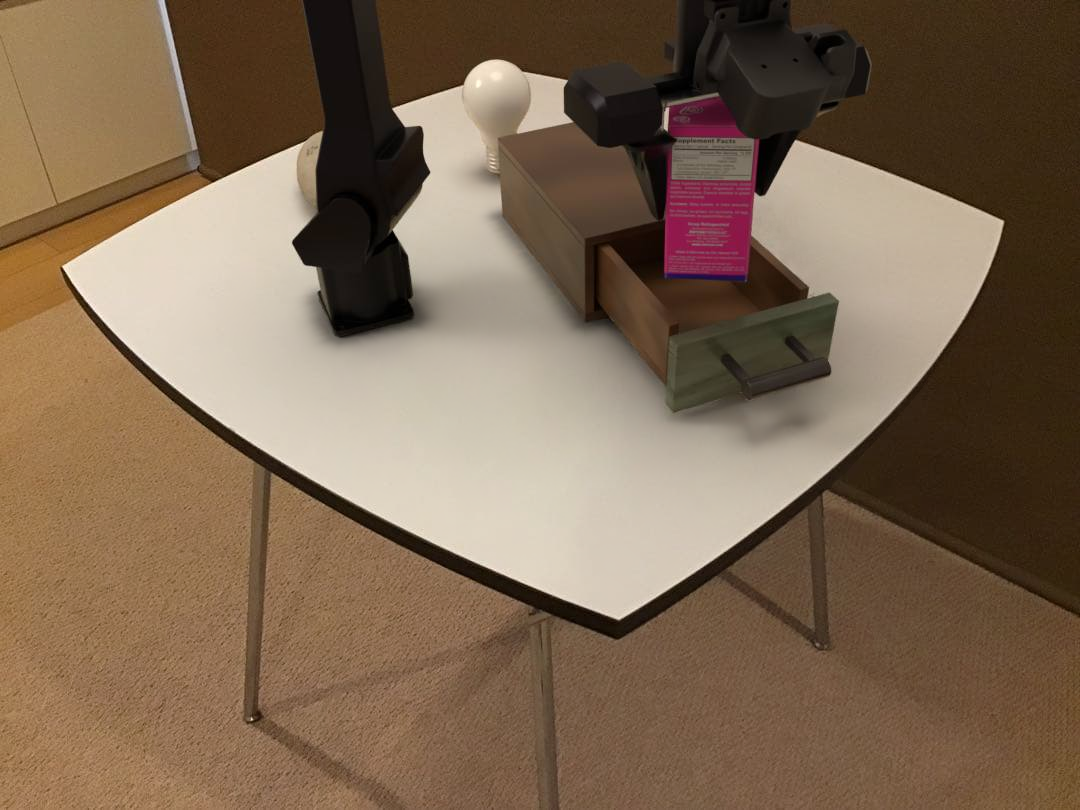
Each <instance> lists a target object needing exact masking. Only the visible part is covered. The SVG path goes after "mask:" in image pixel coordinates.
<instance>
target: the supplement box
mask: <svg viewBox="0 0 1080 810" xmlns="http://www.w3.org/2000/svg"><path fill="white" fill-rule="evenodd" d="M667 132H669V133H670V134H671V135H672V136H673V137H674V138H675V139H676V143H675V144H674V145H673V146H672V148H671V149H670V150H669V151H668V153H667V179H666V220H665V268H664V277H665V278H672V279H696V280H718V281H736V282H746V281H747V278H748V266H749V254H750V242H751V235H752V230H753V229H752V228H753V216H754V204H755V194H756V193H755V182H756V170H757V160H758V148H759V139H758V140H757V139H751V138H748V137H746V136H744V135H743V134H742V133H741V132H740V131H739V129H738V128H737V126H736V122H735V119H734V118H733V116H732V114H731V113H730V111H729V110H728V108H727V107H726V105H725V104H724V102H723V101H722V99H721V97H717V98H712V99H707V100H703V101H698V102H693V103H688V104H683V105H678V106H673V107H668V119H667Z"/></svg>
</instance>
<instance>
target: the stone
mask: <svg viewBox="0 0 1080 810" xmlns="http://www.w3.org/2000/svg"><path fill="white" fill-rule="evenodd" d="M322 133H323V130H320V131H318V132H316V133H314V134H312V135H311V136H310V137H309V138H308V139H307V140H305V141H304V143H303V145H302V146H301V147H300V150H299V152H298V155H297V159H296V180H297V183H298V187H299V189H300V191H301V193H302V195H303V196H304V197H305V199H306V201H308V202H309V203H310V204H311V205H313V206H315V207H316V174H315V170H316V164H317V159H318V154H319V149H320V144H321V138H322Z"/></svg>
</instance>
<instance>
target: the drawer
mask: <svg viewBox="0 0 1080 810" xmlns="http://www.w3.org/2000/svg"><path fill="white" fill-rule="evenodd" d="M664 268H665V228H662V229H658V230H654V231H649V232H645V233H641V234H637V235H633V236H629V237H625V238H621V239H617V240H612V241H608V242H604V243H600V244H596V245H594V298H595V299H596V301H597V302H598V303H599V304H600V306H601V307H602V308H603V309H604V311H605V312H606V313H607V314H608V317H609V318H610V319H611V321H612V322H613V323H614V324H615V325H616V327H617V328H618V329H619V330H620V332H621V333H622V334H623V335H624V337H625V338H626V340H628V342H629V343H630V344H631V346H632V347H633V348H634V349H635V350H636V352H637V353H638V354H639V355H640V357H641V358H642V359H643V360H644V361H645V363H646V364H647V365H648V366H649V368H650V369H651V370H652V371H653V373H654V374H655V375H656V377H657V378H658V379H659V381H661V383H662V384H663V385H664V386H665V387H666V388H665V389H666V390H665V405H666V406H667V408H668V409H669V410H670V411H671V412H672V414H676V413H679V412H683V411H686V410H689V409H692V408H696V407H700V406H703V405H706V404H709V403H713V402H716V401H720V400H723V399H726V398H730V397H733V396H737V395H740V394H742V396H743V397H744V399H745V400H746V401H747V402H750V401H753V400H757V399H760V398H764V397H768V396H770V395H774V394H778V393H780V392H783V391H787V390H791V389H794V388H796V387H800V386H804V385H807V384H811V383H814V382H816V381H817V382H818V381H821V380H824V379H827V378H830V376H831V375H832V366H831V363H830V361H829V359H830V352H831V347H832V343H833V336H834V331H835V326H836V321H837V314H838V309H839V304H840V301H839V299H838V298H836V297H835V296H834V295H833V294H832V293H831V292H826V293H822V294H818V295H815V296H811V297H809V292H810V286H809V285H808V284H807V283H805V282H804V281H803V280H802V279H801V278H800V277H798V276H797V275H796V274H795V273H794V272H793V271H792V270H791V269H789V268H788V267H787V266H786V265H785V264H784V263H783V262H782V261H781V260H780V259H778V258H777V257H776V256H775V255H774V254H773V253H772V252H771V251H770V250H769V249H767V248H766V247H765V246H764V245H763V244H762V243H760V242H759V241H758V240H757V238H755V237H754V236H753V235H752V234H751V242H750V254H749V266H748V278H747V281H746V282H736V281H718V280H696V279H672V278H665V277H664Z"/></svg>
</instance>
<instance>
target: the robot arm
mask: <svg viewBox="0 0 1080 810" xmlns="http://www.w3.org/2000/svg"><path fill="white" fill-rule="evenodd" d="M301 3H302V4H301V5H302V8H303V12H304V13H303V14H304V19H305V25H306V32H307V35H308V41H309V46H310V51H311V58H312V62H313V68H314V73H315V78H316V83H317V89H318V94H319V100H320V105H321V111H322V117H323V129H322V131H323V133H322V138H321V144H320V149H319V154H318V159H317V164H316V170H315V174H316V206H315V207H316V213H315V214H314V216H312V218H311V219H310V220H309V221H307V223H306V225H304V226H303V228H302V229H301V230H300V231H299V232H298V234H297V235H295V237H294V238H293V239H292V241H291V245H292V247H293V248H294V251H295V253H297V255H298V257H299V259H300V261H301V262H302V264H303V265H304V266H305V267H311V268H312V267H314V268H316V269H315V270H316V274H317V279H318V284H319V288H320V290H318V291H317V297H318V298H317V299H318V300H319V302H320V305H321V307H322V309H323V311H324V314H325V317H326V318H327V322H328V324H329V325H330V328H331V330H332V332H333V335H334V336H336V337H343V336H347V335H351V334H355V333H359V332H362V331H367V330H370V329H374V328H375V329H376V328H378V327H383V326H387V325H391V324H395V323H399V322H402V321H408V320H410V319H413V318H414V317H415V310H414V308H413V306H412V304H411V303H410V301H409V300H412V299H413V297H414V291H413V282H412V275H411V267H410V261H409V254H408V253H407V251H406V250H405V248H404V246H403V244H402V243H401V241H400V239H399V238H398V236H397V235H396V233H395V231H394V229H395V228H396V226H397V225H398V223H400V221H401V220H402V219H403V217H404V216H405V214H406V213H407V211H409V209H410V208H411V206H412V205H413V204H414V203H415V201H416V200H417V199H418V197H419V195H420V194H421V193H422V189H423V186H424V182H425V181H426V180H427V179H428V177H429V176H430V175H431V169H430V168H429V166H428V164H427V162H426V158H425V155H424V154H425V153H424V140H425V139H424V137H425V136H424V135H425V134H424V128H423V127H422V126H421V125H413V126H411V125H410V126H405V125H404V124H403V122H402V120H401V119H400V118H399V116H398V115H397V113H396V112H395V111H394V109H393V106H392V103H391V98H390V92H389V91H390V90H389V84H388V77H387V71H386V63H385V57H384V50H383V44H382V43H383V42H382V36H381V29H380V28H381V27H380V22H379V21H380V20H379V15H378V9H377V0H301ZM791 7H792V1H791V0H676V8H675V27H674V29H675V30H674V39H673V40H672V39H671V40H667V41H664V42H663V43H664V44H663V59H664V60H666V61H667V62H668V63H670V64H671V65H672V72H670V73H669V72H668V73H665V74H658V75H654V76H649V77H645V76H644V75H643V74H641V72H639V71H638V70H637V69H635V68H634V67H633V66H631V65H630V64H629V63H628V62H627V61H625V60H620V61H616V62H610V63H605V64H599V65H594V66H588V67H584V68H578V69H574V70H573V71H572V72H571V74H570V76H569V77H568V78H567V81H566V82H565V85H564V86H563V113H564V114H565V115H566V116H567V117H568V119H570V121H572V122H574V123H575V124H576V125H577V126H578V127H579V128H580V129H581V130H582V131H583V132H584V133H585V134H586V135H587V136H588V137H589V138H590V139H591V140H592V141H593V142H594V143H595V144H596V145H597V146H600V147H606V148H613V147H618V146H623V147H624V149H625V151H626V153H627V155H628V157H629V159H630V162H631V164H632V166H633V169H634V172H635V174H636V177H637V179H638V182H639V184H640V187H641V189H642V192H643V194H644V197H645V199H646V202H647V205H648V207H649V210H650V212H651V214H652V216H653V217H654V218H655V219H656V220H658V221H659V220H662V219H663V218H664V212H665V206H666V179H667V153H668V151H669V150H670V149H671V148H672V146H673V145H674V144H675V143H676V139H675V138H674V137H673V136H672V135H671V134H670V133H669V132H668V130H667V129H665V112H666V110H667V109H669V107H673V106H678V105H683V104H688V103H693V102H698V101H703V100H707V99H712V98H717V97H721V99H722V101H723V102H724V104H725V105H726V107H727V108H728V110H729V111H730V113H731V114H732V116H733V118H734V119H735V122H736V126H737V128H738V129H739V131H740V132H741V133H742V134H743V135H744V136H746V137H748V138H751V139H757V140H758V139H759V148H758V160H757V170H756V182H755V194H756V195H757V196H758V197H765V196H766V195H767V194H768V192H769V190H770V188H771V186H772V184H773V183H774V180H775V178H776V177H777V175H778V173H779V172H780V169H781V168H782V166H783V164H784V162H785V159H786V157H787V156H788V154H789V152H790V151H791V148H792V147H793V145H794V143H795V142H796V140H797V138H798V137H799V135H800V134H801V132H802V131H805V130H808V129H810V128H812V126H813V125H814V123H815V122H816V118H818V117H820V116H822V115H823V114H826V113H828V112H833V111H834V110H836V109H837V108H838V107H839V105H840V101H841V100H842V101H843V100H844V99H849V98H854V97H858V96H859V97H860V96H862V95H866V94H867V91H868V88H869V84H870V79H871V72H872V67H873V63H872V61H871V57H870V54H869V51H868V50H867V48H866V47H865V46H864V45H863V44H861V43H860V42H858V41H856V40H855V39H854V37H852V36H851V34H850V33H849V31H848V30H847V29H845V28H842V29H835V28H833V27H832V26H830V25H829V24H827V23H825V22H824V23H818V24H813V25H807V26H803V27H802V26H801V27H797V28H793V26H792V20H791V9H792V8H791Z"/></svg>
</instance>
